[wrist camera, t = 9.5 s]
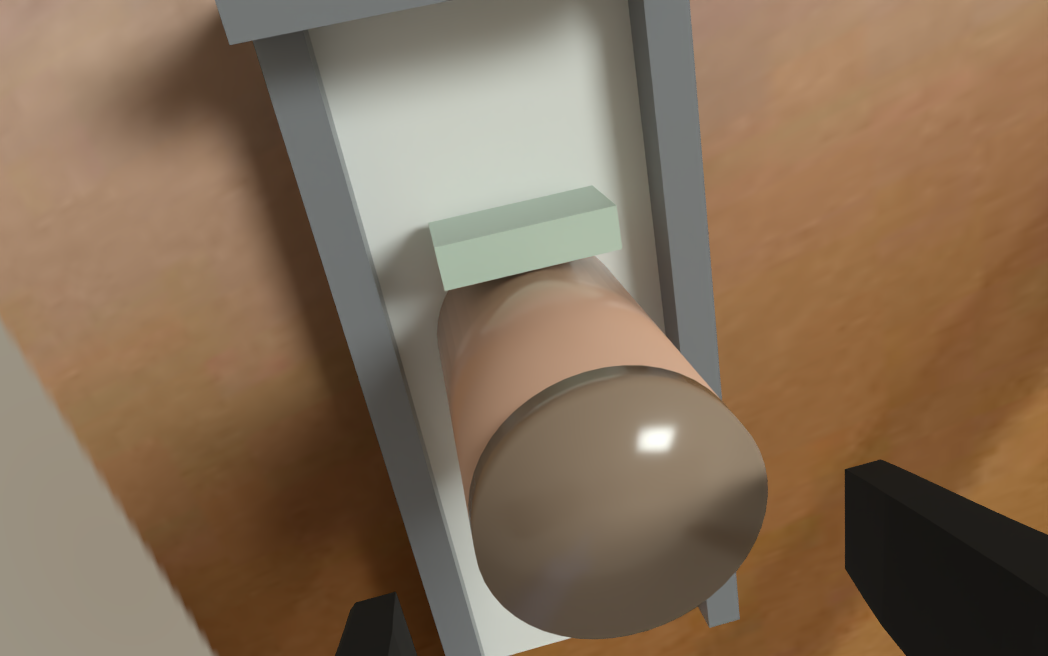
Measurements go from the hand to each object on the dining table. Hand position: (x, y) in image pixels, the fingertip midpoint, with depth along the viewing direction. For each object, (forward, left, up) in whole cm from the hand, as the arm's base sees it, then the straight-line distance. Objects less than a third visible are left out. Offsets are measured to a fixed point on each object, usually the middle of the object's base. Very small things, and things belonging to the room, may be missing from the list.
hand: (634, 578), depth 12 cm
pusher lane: (0, 0, -9) cm, 9 cm away
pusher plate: (0, +3, -9) cm, 9 cm away
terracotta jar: (0, 0, -9) cm, 9 cm away
